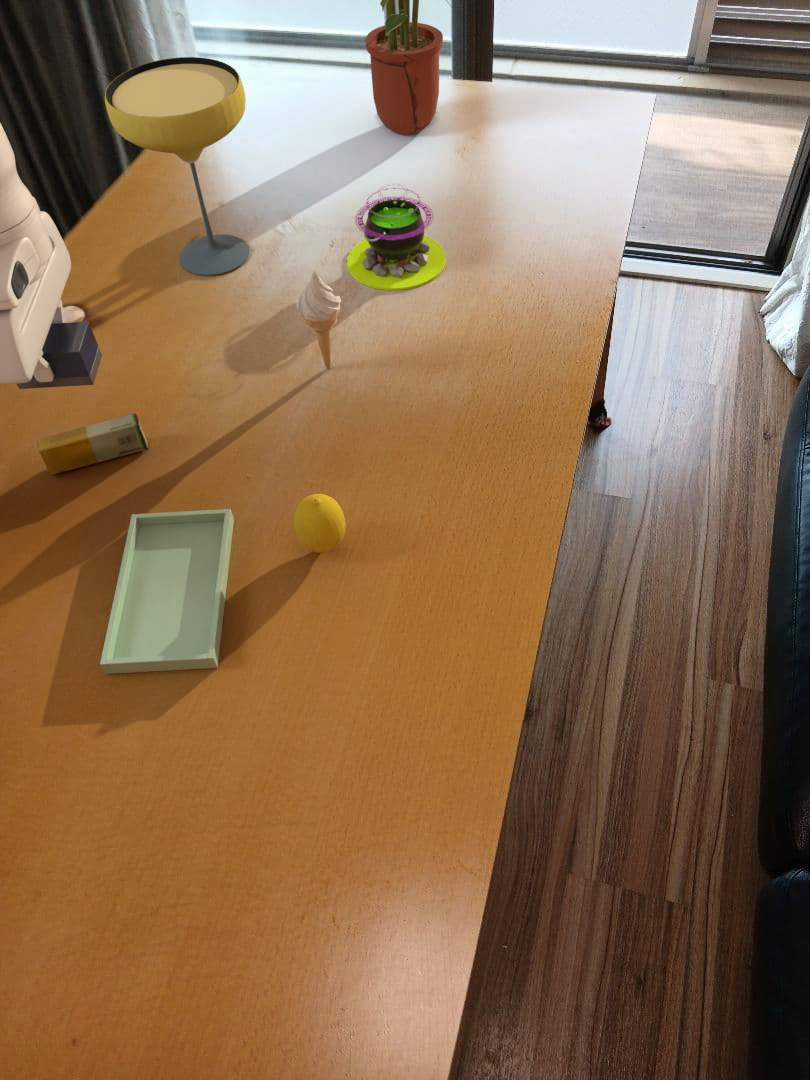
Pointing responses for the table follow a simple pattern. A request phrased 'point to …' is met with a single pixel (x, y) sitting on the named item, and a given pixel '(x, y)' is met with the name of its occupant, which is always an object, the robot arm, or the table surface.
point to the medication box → (92, 444)
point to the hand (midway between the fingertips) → (54, 358)
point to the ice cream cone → (320, 312)
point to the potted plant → (404, 68)
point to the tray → (170, 593)
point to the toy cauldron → (395, 246)
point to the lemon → (319, 523)
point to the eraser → (69, 356)
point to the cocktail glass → (183, 132)
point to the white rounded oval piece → (73, 314)
